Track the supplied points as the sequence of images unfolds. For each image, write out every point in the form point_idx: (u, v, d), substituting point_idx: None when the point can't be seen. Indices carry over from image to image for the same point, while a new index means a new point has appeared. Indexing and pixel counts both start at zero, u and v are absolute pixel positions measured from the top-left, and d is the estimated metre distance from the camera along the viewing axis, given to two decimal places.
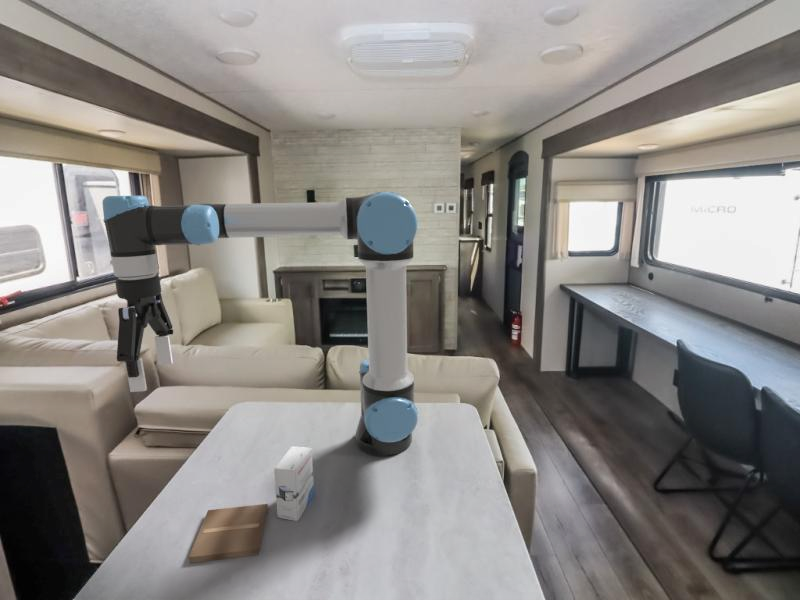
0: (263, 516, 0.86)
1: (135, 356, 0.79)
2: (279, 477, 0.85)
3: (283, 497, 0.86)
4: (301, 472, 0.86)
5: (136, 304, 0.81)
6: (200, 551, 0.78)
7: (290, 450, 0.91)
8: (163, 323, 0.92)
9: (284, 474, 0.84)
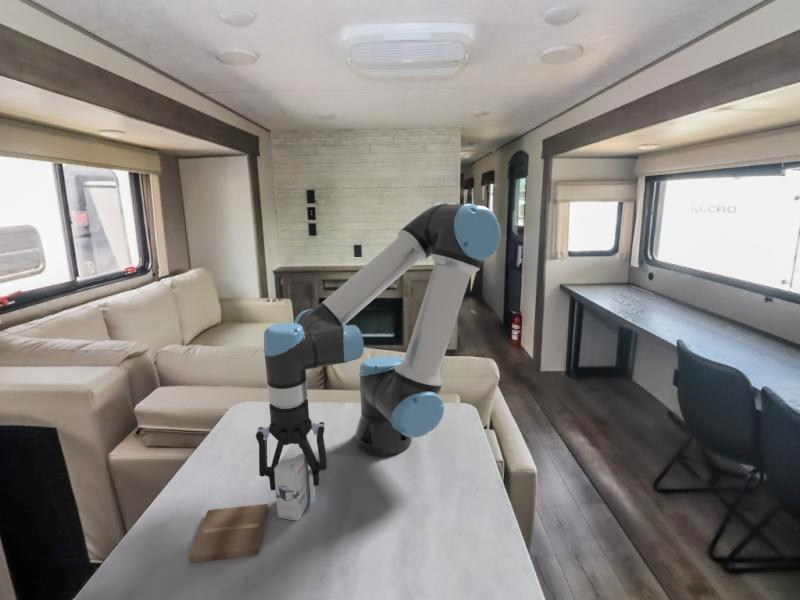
0: (263, 516, 0.86)
1: (269, 475, 0.87)
2: (279, 477, 0.85)
3: (283, 497, 0.86)
4: (301, 472, 0.86)
5: (269, 427, 0.85)
6: (200, 551, 0.78)
7: (290, 450, 0.91)
8: (309, 458, 0.87)
9: (284, 473, 0.84)
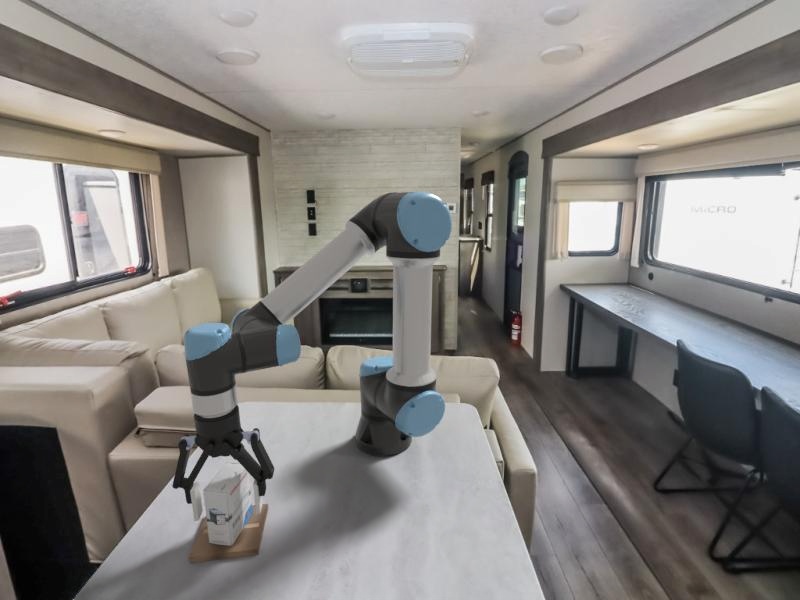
0: (263, 516, 0.86)
1: (183, 486, 0.79)
2: (209, 499, 0.77)
3: (214, 521, 0.78)
4: (234, 493, 0.79)
5: (195, 437, 0.77)
6: (200, 551, 0.78)
7: (223, 468, 0.83)
8: (249, 468, 0.80)
9: (214, 495, 0.77)
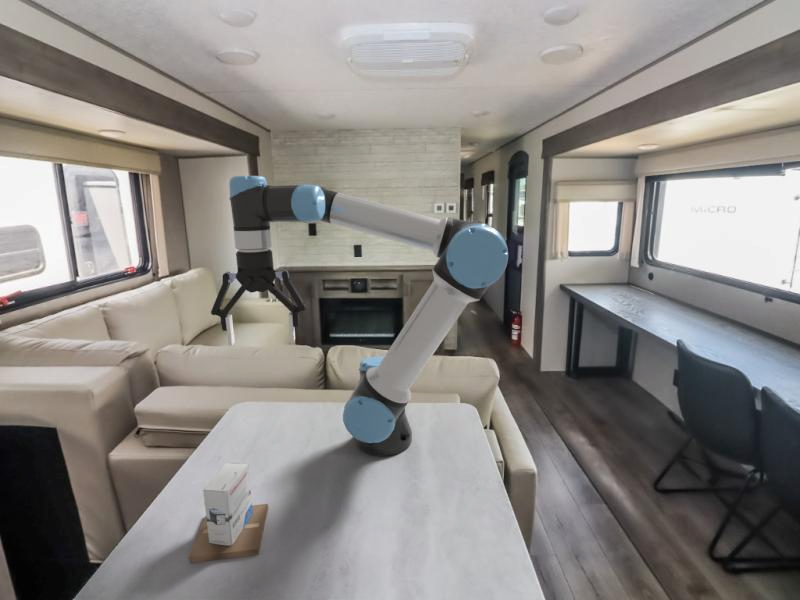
0: (263, 516, 0.86)
1: (220, 313, 0.94)
2: (209, 499, 0.77)
3: (214, 521, 0.78)
4: (234, 493, 0.79)
5: (237, 272, 0.93)
6: (200, 551, 0.78)
7: (223, 468, 0.83)
8: (284, 300, 0.95)
9: (214, 495, 0.77)
